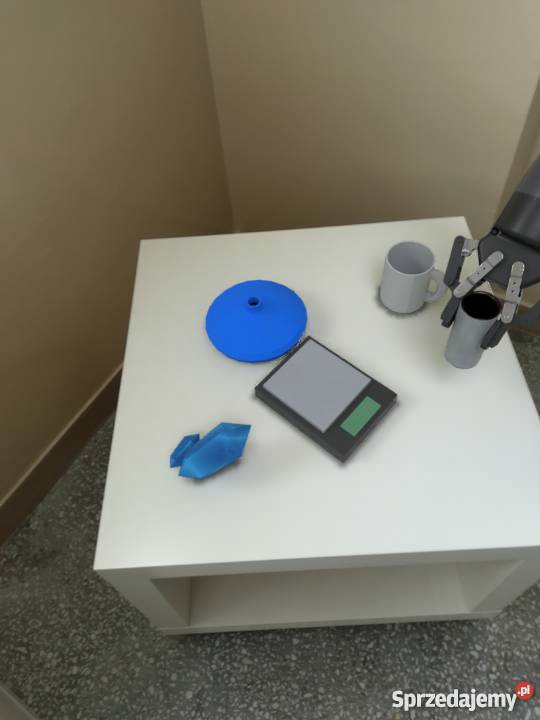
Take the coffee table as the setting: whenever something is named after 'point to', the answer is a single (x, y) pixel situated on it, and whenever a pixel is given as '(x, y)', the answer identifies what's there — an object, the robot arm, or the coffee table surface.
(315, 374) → the scale
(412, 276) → the cup
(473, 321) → the grey cylindrical tube
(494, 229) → the robot arm
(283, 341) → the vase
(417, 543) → the coffee table surface
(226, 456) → the crystal
